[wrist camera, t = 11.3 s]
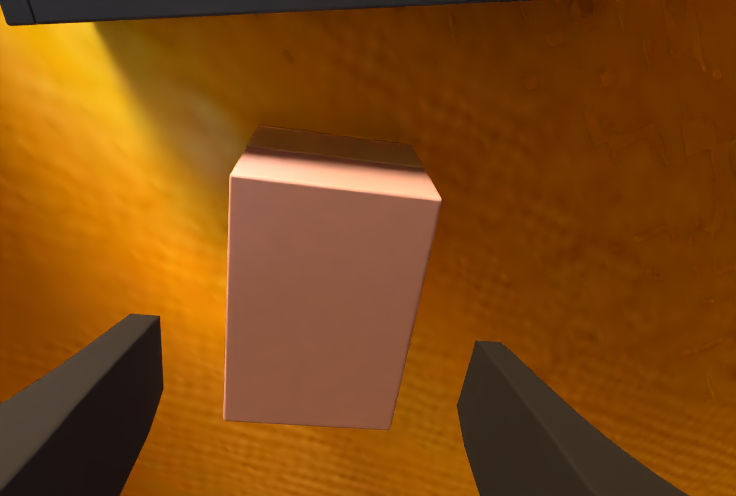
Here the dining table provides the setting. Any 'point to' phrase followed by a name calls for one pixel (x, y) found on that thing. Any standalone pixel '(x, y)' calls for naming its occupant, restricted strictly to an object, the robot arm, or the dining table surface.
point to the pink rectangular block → (323, 277)
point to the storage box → (182, 8)
